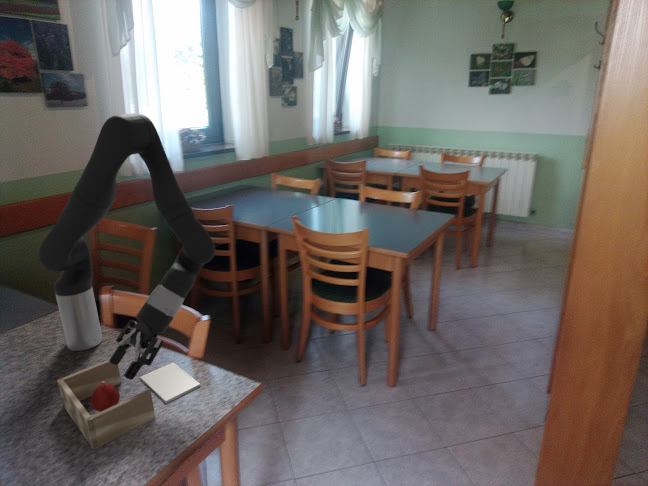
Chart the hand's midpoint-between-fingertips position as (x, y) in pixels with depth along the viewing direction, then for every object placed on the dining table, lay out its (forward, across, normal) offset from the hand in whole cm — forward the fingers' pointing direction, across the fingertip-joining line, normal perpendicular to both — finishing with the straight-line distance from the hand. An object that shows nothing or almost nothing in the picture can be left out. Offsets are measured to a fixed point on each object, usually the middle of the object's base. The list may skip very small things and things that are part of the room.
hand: (120, 370), depth 100 cm
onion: (+9, 0, +4) cm, 10 cm away
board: (-2, 0, +14) cm, 14 cm away
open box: (+9, 0, +3) cm, 10 cm away
